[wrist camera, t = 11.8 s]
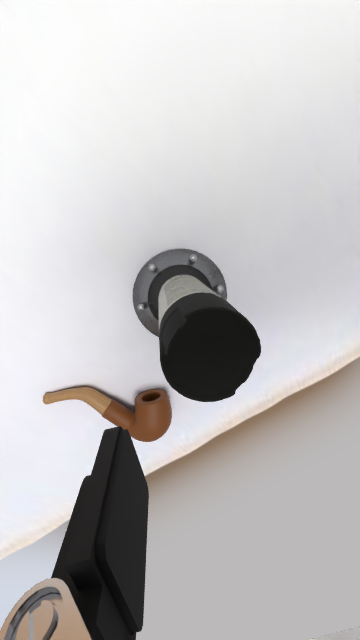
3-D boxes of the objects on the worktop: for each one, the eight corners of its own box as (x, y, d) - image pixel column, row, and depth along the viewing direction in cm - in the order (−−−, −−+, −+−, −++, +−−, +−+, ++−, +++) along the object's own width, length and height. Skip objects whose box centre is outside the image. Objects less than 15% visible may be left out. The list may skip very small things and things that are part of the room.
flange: (216, 239, 35) (218, 238, 33) (231, 328, 38) (234, 331, 37) (122, 260, 34) (120, 261, 33) (146, 347, 38) (146, 351, 37)
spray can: (149, 306, 35) (138, 380, 16) (174, 263, 34) (195, 286, 15) (190, 329, 36) (226, 422, 17) (216, 288, 35) (285, 339, 16)
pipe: (45, 382, 39) (25, 406, 33) (171, 383, 41) (174, 406, 35) (49, 424, 41) (31, 454, 35) (169, 423, 43) (171, 451, 37)
